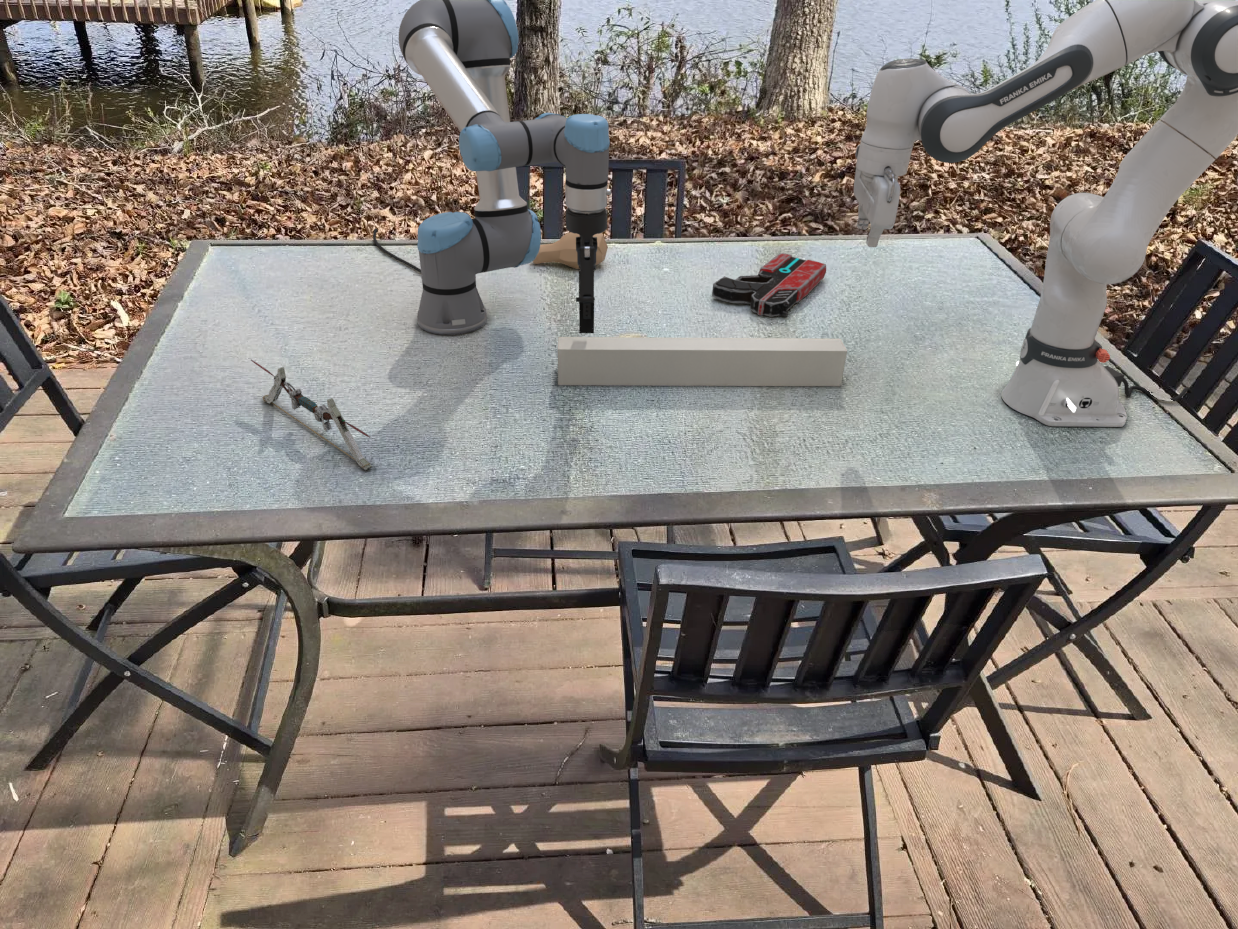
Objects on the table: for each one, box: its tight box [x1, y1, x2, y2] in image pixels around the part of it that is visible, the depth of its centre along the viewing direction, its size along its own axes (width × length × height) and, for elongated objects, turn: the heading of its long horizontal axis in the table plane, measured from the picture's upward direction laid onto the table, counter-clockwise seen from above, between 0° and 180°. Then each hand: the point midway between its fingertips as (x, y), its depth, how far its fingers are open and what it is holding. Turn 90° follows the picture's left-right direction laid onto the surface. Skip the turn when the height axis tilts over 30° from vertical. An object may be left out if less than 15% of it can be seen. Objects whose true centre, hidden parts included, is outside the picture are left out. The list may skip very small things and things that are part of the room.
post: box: [557, 336, 848, 387], centre depth 175 cm, size 57×6×8 cm, turn 92°
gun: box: [711, 252, 827, 318], centre depth 215 cm, size 4×31×19 cm
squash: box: [532, 231, 609, 270], centre depth 226 cm, size 11×20×9 cm, turn 90°
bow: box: [250, 359, 373, 471], centre depth 154 cm, size 39×2×10 cm, turn 47°
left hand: (586, 317), depth 169 cm, fingers open, 13 cm apart
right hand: (866, 236), depth 161 cm, fingers open, 8 cm apart
